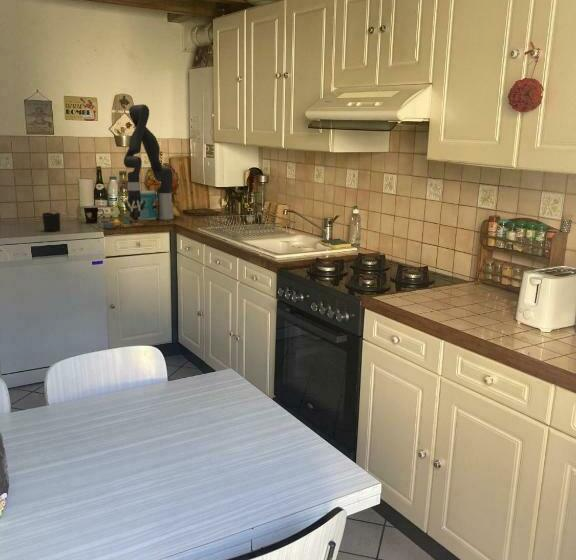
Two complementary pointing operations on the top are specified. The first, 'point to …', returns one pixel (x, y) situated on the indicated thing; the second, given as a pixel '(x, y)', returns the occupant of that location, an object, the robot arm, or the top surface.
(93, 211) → the coffee mug
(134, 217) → the striker
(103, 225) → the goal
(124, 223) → the rail
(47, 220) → the pen holder
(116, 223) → the ball
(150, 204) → the food can
